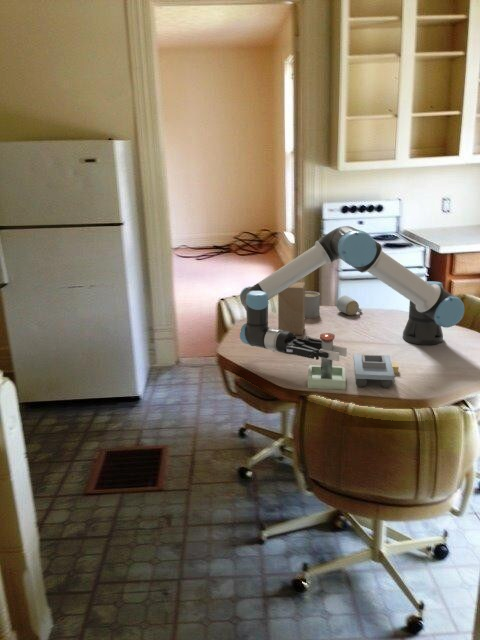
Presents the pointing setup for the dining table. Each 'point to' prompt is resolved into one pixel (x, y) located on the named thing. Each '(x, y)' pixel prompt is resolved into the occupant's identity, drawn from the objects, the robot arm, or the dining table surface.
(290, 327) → the wooden block
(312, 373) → the tray
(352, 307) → the ceramic mug
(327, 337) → the pin
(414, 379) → the dining table surface
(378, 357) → the cart
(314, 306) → the grey cylindrical piece
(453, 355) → the dining table surface
